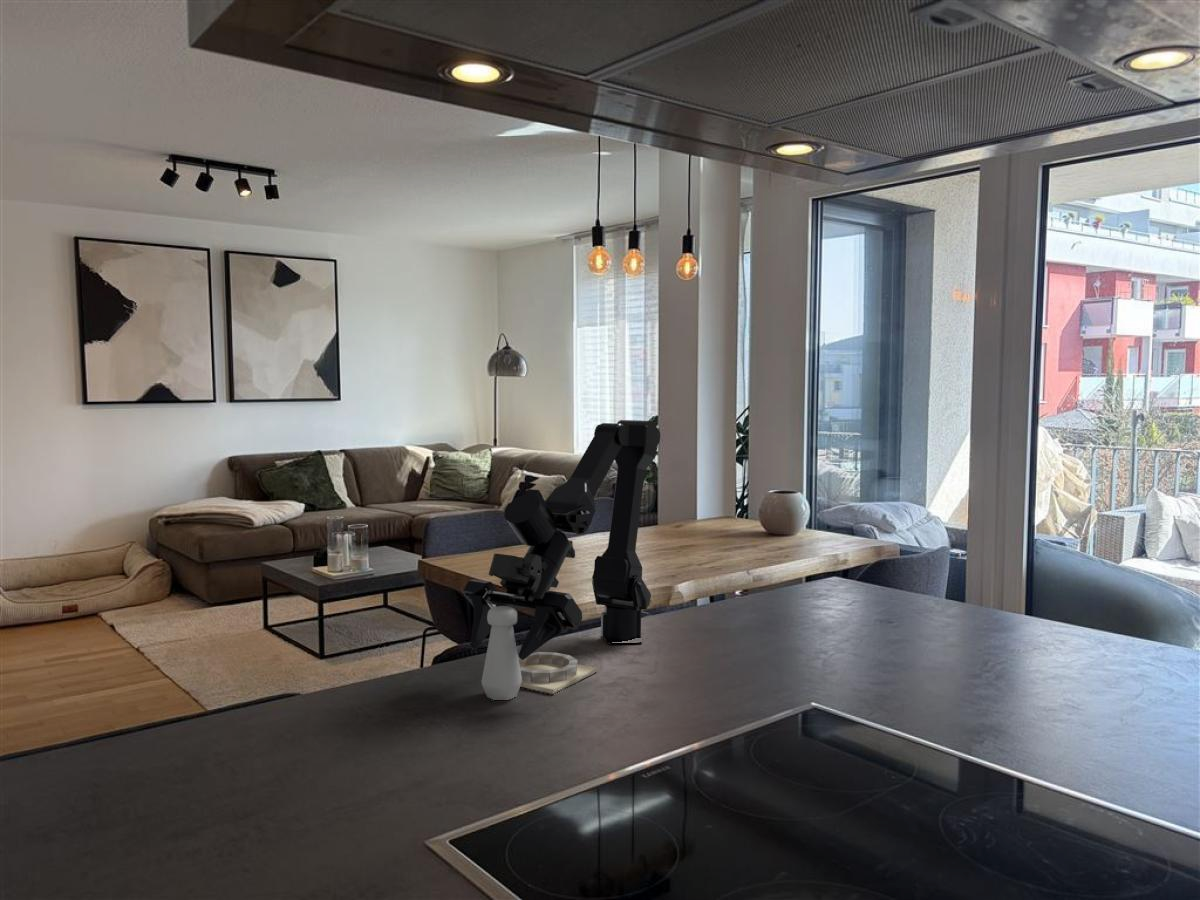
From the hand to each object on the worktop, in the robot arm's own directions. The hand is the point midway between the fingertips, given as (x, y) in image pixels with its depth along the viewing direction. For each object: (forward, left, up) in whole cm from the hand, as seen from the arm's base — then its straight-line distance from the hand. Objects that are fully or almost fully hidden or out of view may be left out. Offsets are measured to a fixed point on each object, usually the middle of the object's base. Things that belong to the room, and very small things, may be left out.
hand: (496, 653), depth 124 cm
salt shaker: (-1, -1, -7) cm, 7 cm away
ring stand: (-7, -9, -7) cm, 14 cm away
